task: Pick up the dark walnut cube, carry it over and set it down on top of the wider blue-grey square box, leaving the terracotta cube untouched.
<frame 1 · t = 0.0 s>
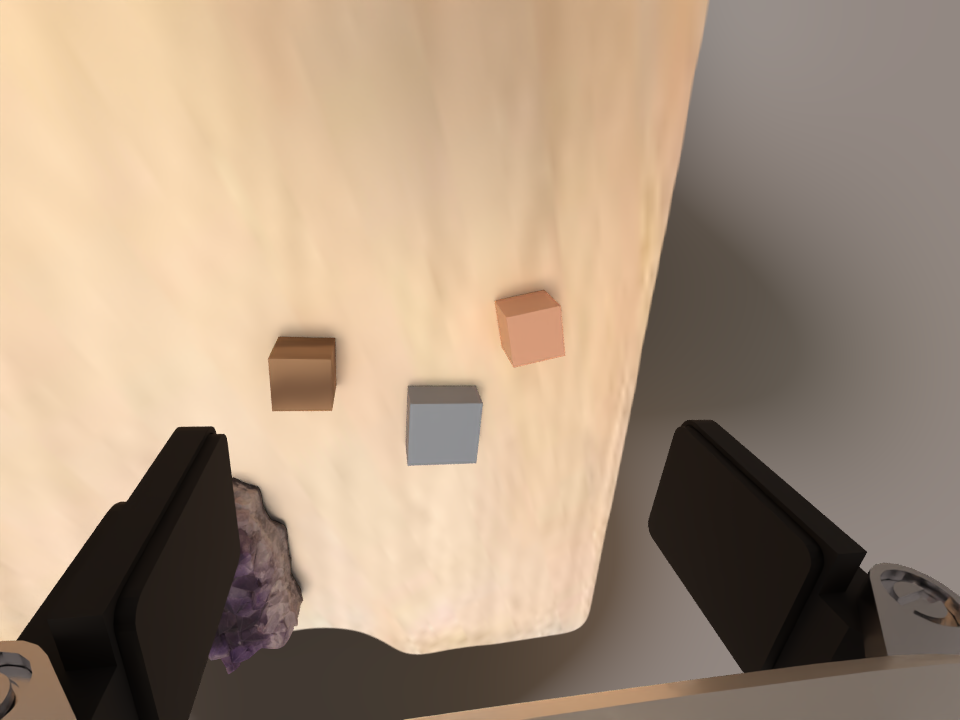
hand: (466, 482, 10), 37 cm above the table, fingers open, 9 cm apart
geode: (241, 548, 55), on the table
blue-grey square box: (440, 414, 52), on the table
walnut cube: (308, 361, 47), on the table
terracotta cube: (522, 318, 50), on the table
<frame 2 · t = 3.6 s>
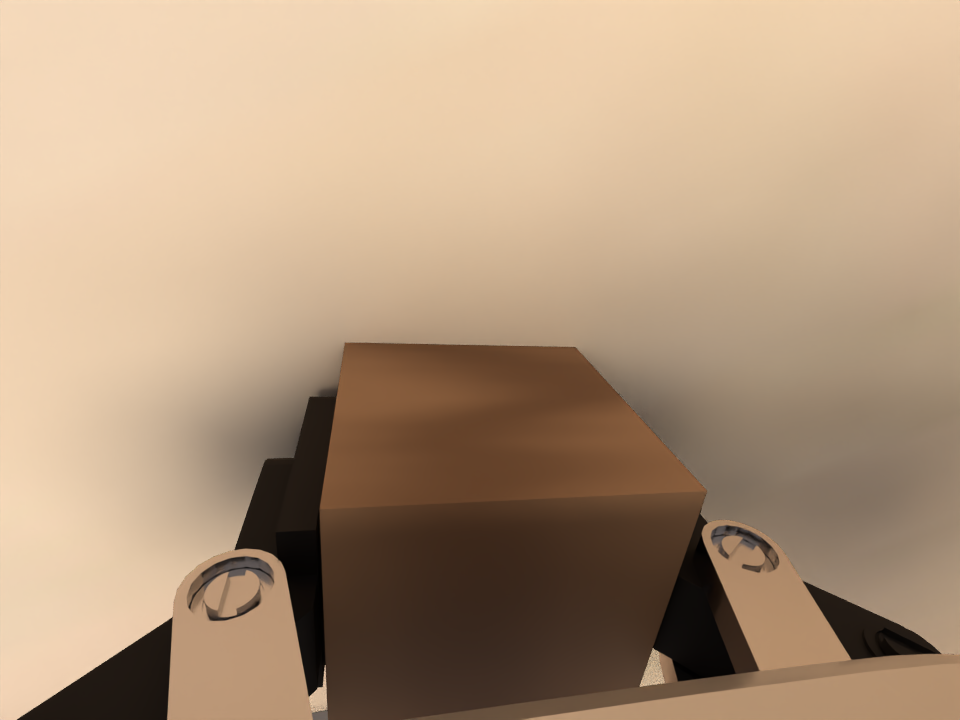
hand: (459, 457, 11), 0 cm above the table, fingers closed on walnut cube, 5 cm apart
walnut cube: (456, 443, 12), on the table, touching gripper
when the fingers open (6 cm above the table, at t = 8.0 s): walnut cube drops 1 cm, point 4 cm above the table.
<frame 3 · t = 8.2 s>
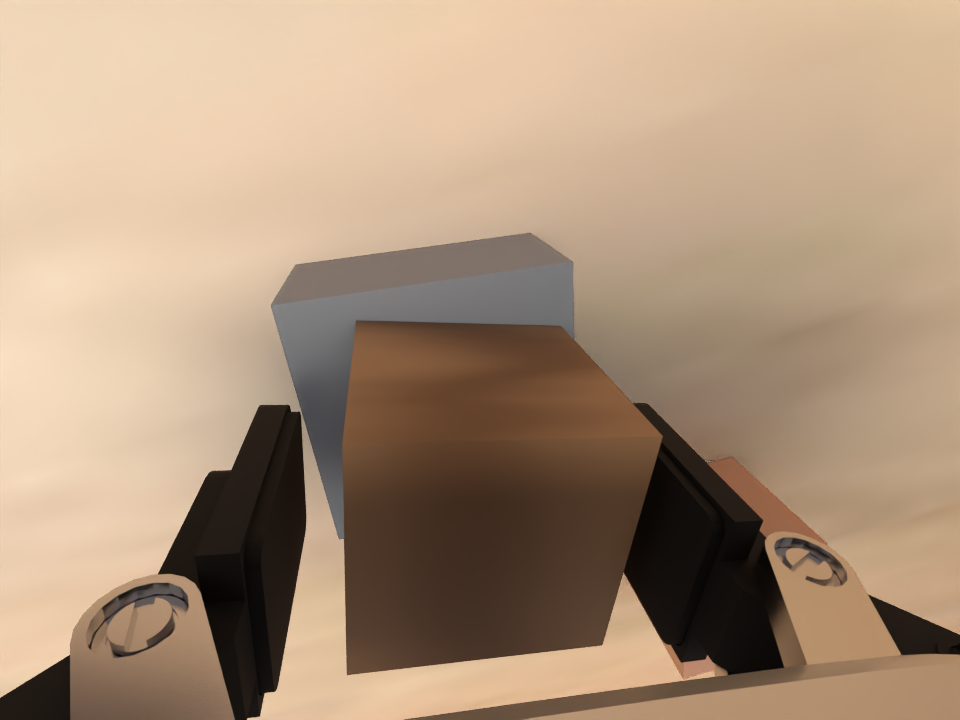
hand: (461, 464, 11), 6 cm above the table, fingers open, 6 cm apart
blue-grey square box: (431, 351, 17), on the table
walnut cube: (455, 413, 13), point 4 cm above the table
terracotta cube: (674, 515, 22), on the table
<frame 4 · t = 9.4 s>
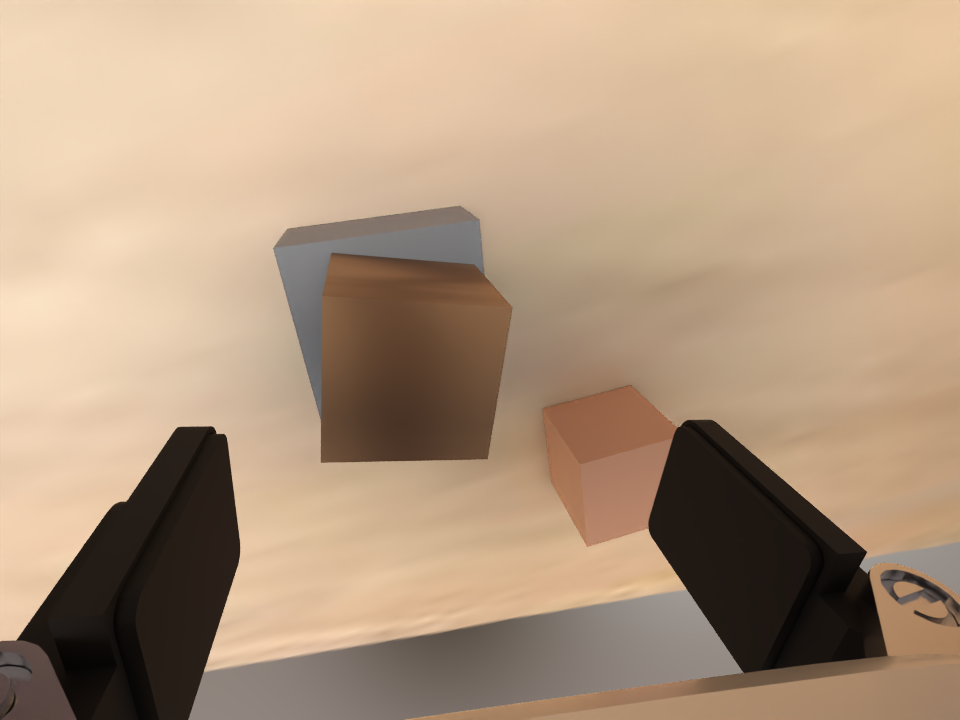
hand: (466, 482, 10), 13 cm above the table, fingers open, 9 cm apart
blue-grey square box: (390, 296, 22), on the table
walnut cube: (400, 325, 18), point 4 cm above the table
terracotta cube: (589, 434, 27), on the table
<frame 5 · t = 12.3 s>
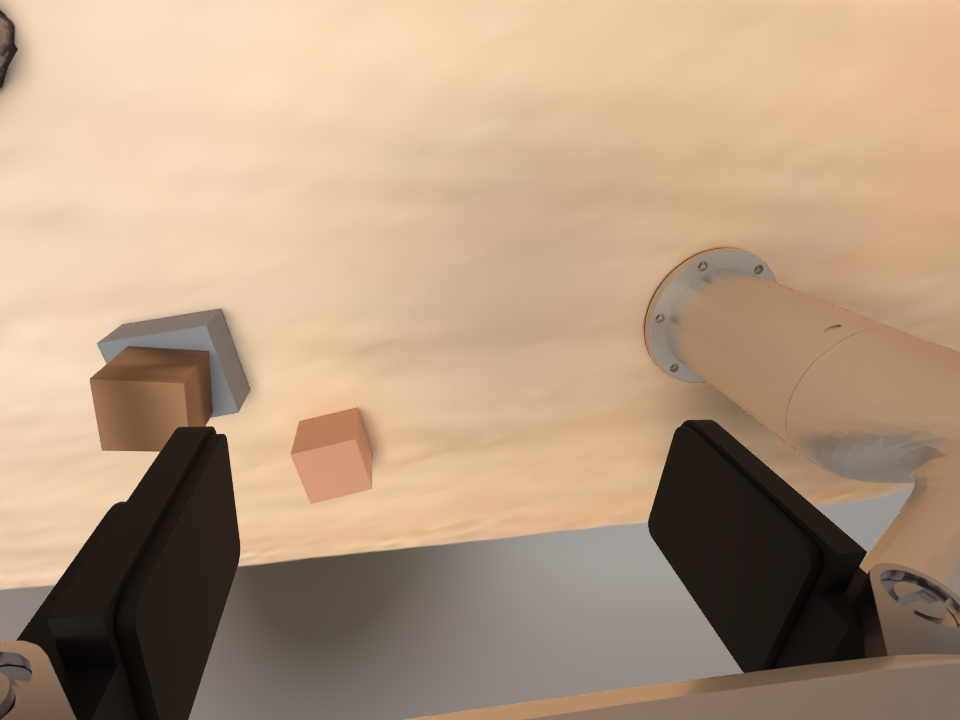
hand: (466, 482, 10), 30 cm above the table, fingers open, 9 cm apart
blue-grey square box: (190, 357, 39), on the table, touching walnut cube
walnut cube: (172, 381, 35), point 4 cm above the table, touching blue-grey square box
terracotta cube: (337, 437, 44), on the table
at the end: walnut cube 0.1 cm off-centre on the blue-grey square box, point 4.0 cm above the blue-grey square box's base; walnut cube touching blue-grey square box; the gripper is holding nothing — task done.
